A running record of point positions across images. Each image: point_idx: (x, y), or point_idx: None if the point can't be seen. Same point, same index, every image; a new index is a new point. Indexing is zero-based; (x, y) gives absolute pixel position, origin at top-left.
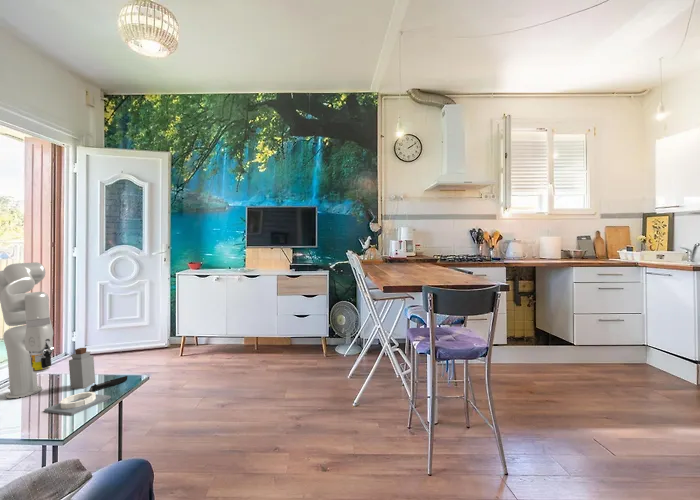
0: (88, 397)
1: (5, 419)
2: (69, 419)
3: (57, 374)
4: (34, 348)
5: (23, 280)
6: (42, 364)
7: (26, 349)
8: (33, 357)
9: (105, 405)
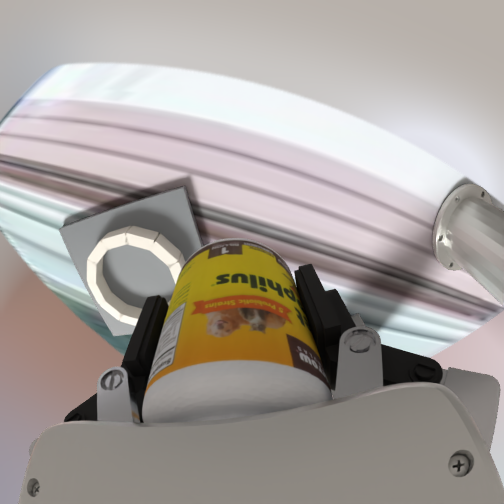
0: (103, 299)
1: (255, 83)
2: (40, 211)
3: (488, 318)
4: (123, 473)
5: None
6: (142, 316)
7: (416, 402)
8: (197, 337)
9: (68, 300)
